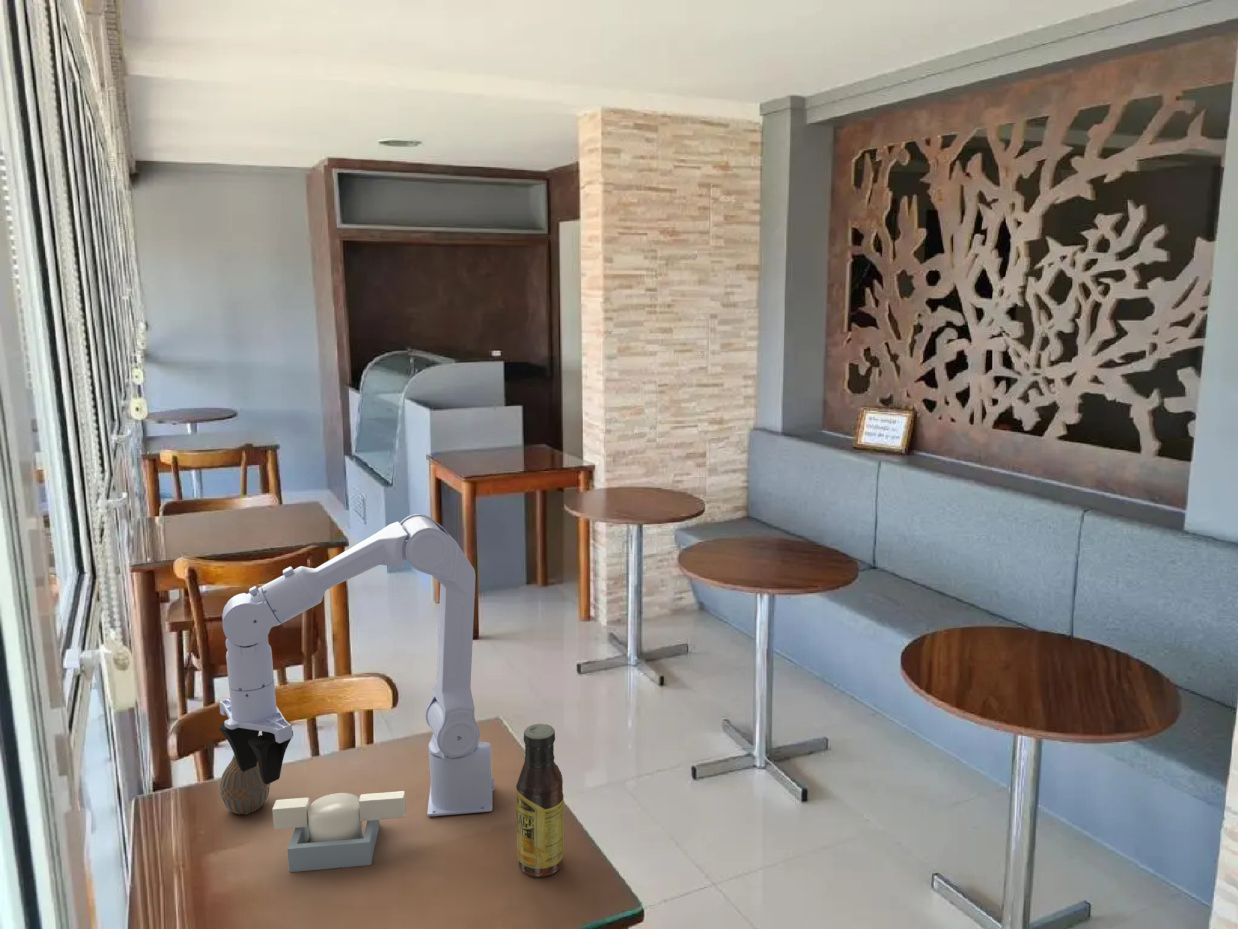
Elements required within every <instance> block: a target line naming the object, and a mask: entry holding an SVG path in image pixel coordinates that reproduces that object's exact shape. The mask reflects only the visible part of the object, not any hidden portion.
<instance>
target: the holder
mask: <svg viewBox="0 0 1238 929" xmlns="http://www.w3.org/2000/svg"><path fill="white" fill-rule="evenodd" d="M379 829H380V820H368V821H366V824H365V829H364V833H363V838H362V839H350V840H338V841H326V842H314V843H310V842H308V841H309V839H310V835H309V824H308V826H307V827H298V828H294V831H293V833H292V836H291V839H290V842H289V844H288V846H287V858H288V867H289V868H288V869H289V871H288V872H289V873H294V872H295V873H296V872H305V871H316V870H329V869H340V867H341V868H342V869H343V868H351V867H352V868H353V867H362V866H371V865H372V863H373V857H374V853H375V849H376V844H377V839H378V835H379Z"/></svg>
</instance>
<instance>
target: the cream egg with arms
mask: <svg viewBox="0 0 1238 929" xmlns="http://www.w3.org/2000/svg"><path fill="white" fill-rule="evenodd" d="M405 791H406V790H401V791H398V790H397V791H387V792H386V791H385V792H374V793H373V792H372V793H361V794H360V796H357V795H355V794H353V793H348V792H337V793H331V794H326V795H322V796H321V797H319V798H317V799H315V800H314V801H312V802H311V804H310V797H296V798H294V797H293V798H286V799H285V798H282V799H276V800H275V802H274V804H273V807H272V809H271V810H272V811H271V812H272V822H273V830H283V829H285V830H286V829H295V828H298V827H307V826H308V824H309V843H314V842H326V841H338V840H350V839H362V838H363V836H364V833H363V822H367V821H368V820H379V821H380V820H390V819H403V818H405V817H406V816H405V815H406V812H407V811H406V793H405Z"/></svg>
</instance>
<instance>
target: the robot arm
mask: <svg viewBox="0 0 1238 929" xmlns="http://www.w3.org/2000/svg"><path fill="white" fill-rule="evenodd" d="M404 561H407V563H408V564H409V565H410V566H411V567H412V568H413V569H414V570H416V571H418V572H420V573H423V574H426V575H430V576H431V577H433V578H434V579H435V580H436V581H437V582H439V583H440V584H439V586H440V587H439V588H440V589H439V605H438V606H439V609H438V612H439V613H438V632H437V633H438V634H437V655H436V656H437V660H436V663H437V664H436V682H435V684H433V687H432V693H431V694H432V695H431V699H430V702H429V703H428V704H427V706H426V710H425V715H424V717H425V721H426V723H427V725H428V727H429V728H430V729H431V731H432V732H431V733H432V736H431V738H430V741H429V742H428V758H429V759H428V760H429V762H428V763H429V774H430V775H429V777H430V778H429V779H430V781H429V782H430V788H429V797H428V804H427V811H426V813H427V814H426V815H427V817H439V816H440V817H441V816H451V815H463V814H474V813H475V814H476V813H488V812H492V811H493V791H495V789H496V788H495V778H494V777H493V765H492V763H493V762H492V744H491V742H485V741H480V737H481V731H480V726H479V725H478V722H477V721H476V718H475V703H474V698H473V693H472V688H471V685H472V684H471V683H472V660H473V640H474V639H473V638H474V637H473V636H474V618H475V617H474V616H475V598H476V597H475V596H476V595H475V594H476V593H475V592H476V575H477V574H476V571H475V568H474V567H473V565H472V564H471V562H470V560H469V559H468V557H467V556H466V555H465V553H464V552H463V550H462V548H461V547H460V546H459V544H458V542H457V540H455V539H454V538H453V537H452V536H451V534H449V532H448V530H446V529H445V527H444V526H442V525H441V524H440V523H438V522H437V521H436V520H434V519H432V518H431V517H430V516H428V515H425V514H421V513H416V514H411V515H408V516H407V517H404V518H403V519H402V520H401V521H400V522H399V521H395V522H393V523H390V524H388V525H387V526H385V527H384V528H382V529H380V530H379V531H377V532H376V533H374V534H372V535H371V536H369V537H367V538H366V539H364V540H362V541H360V542H358V543H357V544H355V545H353V546H352V547H350V548H348V549H346V550H345V551H343V552H341V553H339V554H338V555H336V556H335V557H334V556H333V558H331V559H329V560H327V561H325V562H324V563H322V564H321V565H319V566H317V567H315V568H313V567H307V566H305V565H304V566H302V565H300V566H298V567H296V568H295V569H293V567H292V566H288V567H287V568H284V569H282V575H281V576H278V577H277V578H275V579H273V580H271V581H269V582H267V583H265V584H264V585H262V586H259V587H257V585H253V587H250V588H248V589H249V590H248V593H246V592H242V593H238V594H236V595H234V596H232V597H231V598H230V599H229V600H228V601H227V602H226V604H225V605H224V607H223V610H222V614H221V619H222V631H223V634H224V635H225V638H226V639H225V647H226V650H227V651H226V654H225V659H226V667H227V668H226V670H227V682H228V689H229V690H228V691H229V697H227V698H225V699H223V700H220V701H219V714H220V715H222V716H227V718H228V719H226V720H224V721H223V723H221V724H219V726H218V728H219V729H218V730H219V731H220V732H221V733H222V734H223V735H224V737H225V739H226V740H227V742H228V743H229V745H230V747H231V750H232V752H233V756H234V755H235V757H236V760H237V763H238V765H239V768H240V770H241V771H242V772H244V771H247V770H249V769H251V768H253V767H256V766H257V761H258V764H259V769H260V774H261V778H262V781H263V783H264V784H266V785H267V784H270V785H271V783H275V781H278V780H280V776H281V772H282V766H283V763H284V762H283V761H284V758H285V754H286V751H287V749H288V747H289V745H290V742H291V740H292V739H293V736H294V730H293V727H292V726H293V725H292V724H291V723H289V722H288V721H287V720H286V718H285V717H284V715H283V713H282V712H281V711H280V709H279V707H278V706H277V697H276V688H275V687H276V684H275V677H274V676H275V675H274V666H273V665H274V663H273V651H272V646H271V645H270V644H269V634H270V632H271V629H272V628H273V627H278V626H280V625H282V624H284V623H285V622H288V621H290V620H291V619H293V618H295V617H297V616H299V615H300V614H302V613H304V612H306V611H308V610H310V609H311V608H314V607H316V606H319V604H321V603H322V602H323V599H324V595H325V593H326V592H327V590H329V589H331V588H333V587H335V586H337V585H340V584H342V583H343V582H346V581H349V580H350V579H352V578H355V577H357V576H359V575H361V574H363V573H365V572H367V571H369V570H371V569H374V568H376V567H378V566H386V567H392V568H398V569H404V568H405V565H404V564H405V563H404ZM260 732H261V734H260ZM259 734H260V735H259Z"/></svg>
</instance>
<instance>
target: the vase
mask: <svg viewBox="0 0 1238 929" xmlns="http://www.w3.org/2000/svg"><path fill="white" fill-rule="evenodd" d="M224 769H225V770H224V771H223V773H222V775H221V779H220V784H219V792H220V797H221V798H220V799H221V801H222V803H223V805H224V806H225V807H226V809H227V810H229V811H230V812H232V813H233V814H236V815H240V814H244V815H247V814H246V813H249V814H251V813H250V812H252V813H254V812H253V811H255V810H257V809H258V810H259V809H261V807H262V806H263V805H264V804H265V803H266V802H267V800H268V797H269V794H270V789H271V783H270V784H267V785H266V784H264V783H263V781H262V778H261V774H260V769H259V764H258V761H257V766H256V767H253V768H251V769H249V770H247V771H244V772H242V771H241V770H240V768H239V765H238V763H237V760H236V757H235V755H234V754H233V756H232V759H231V761H230V762H229V764H227V766H226V768H224ZM258 810H257V811H258ZM255 812H256V811H255Z"/></svg>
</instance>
